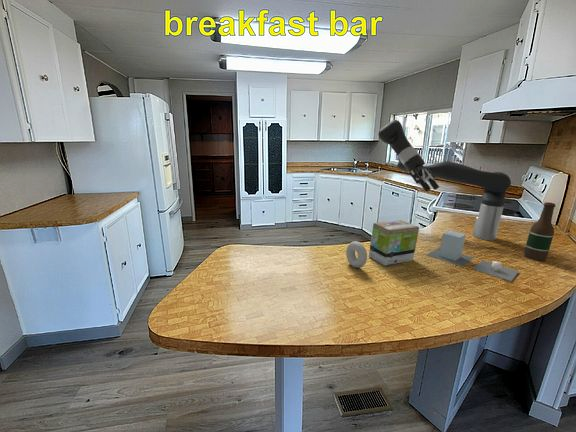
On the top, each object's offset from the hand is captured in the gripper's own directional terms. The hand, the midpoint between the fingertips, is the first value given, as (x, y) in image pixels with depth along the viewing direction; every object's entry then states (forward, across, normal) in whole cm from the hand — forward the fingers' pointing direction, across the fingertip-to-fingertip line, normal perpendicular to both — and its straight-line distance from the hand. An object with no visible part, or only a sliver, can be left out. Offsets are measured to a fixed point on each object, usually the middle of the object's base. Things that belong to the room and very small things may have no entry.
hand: (432, 189), depth 120 cm
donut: (+14, +40, -24) cm, 49 cm away
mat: (+27, 0, -11) cm, 29 cm away
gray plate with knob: (+38, 0, +1) cm, 39 cm away
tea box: (+17, +22, -21) cm, 35 cm away
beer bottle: (+44, -30, +6) cm, 53 cm away
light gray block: (+27, 0, -10) cm, 29 cm away
